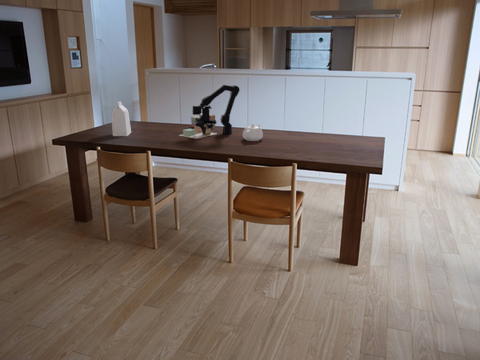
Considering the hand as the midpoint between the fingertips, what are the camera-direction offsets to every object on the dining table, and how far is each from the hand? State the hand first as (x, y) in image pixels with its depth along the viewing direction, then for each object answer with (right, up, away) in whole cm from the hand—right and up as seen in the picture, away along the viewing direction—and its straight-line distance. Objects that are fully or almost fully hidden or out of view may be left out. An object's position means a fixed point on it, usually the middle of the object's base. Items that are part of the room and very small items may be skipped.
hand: (206, 134), depth 329 cm
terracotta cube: (-7, +3, +10) cm, 13 cm away
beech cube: (0, -1, 0) cm, 1 cm away
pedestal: (-14, -1, +1) cm, 14 cm away
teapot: (+37, -6, -13) cm, 40 cm away
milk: (-68, 0, +5) cm, 69 cm away
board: (-7, -1, +2) cm, 7 cm away
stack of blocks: (-5, +8, +29) cm, 31 cm away
